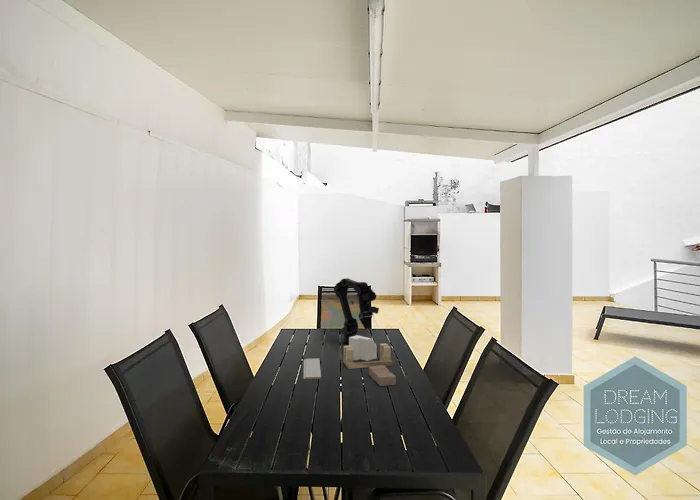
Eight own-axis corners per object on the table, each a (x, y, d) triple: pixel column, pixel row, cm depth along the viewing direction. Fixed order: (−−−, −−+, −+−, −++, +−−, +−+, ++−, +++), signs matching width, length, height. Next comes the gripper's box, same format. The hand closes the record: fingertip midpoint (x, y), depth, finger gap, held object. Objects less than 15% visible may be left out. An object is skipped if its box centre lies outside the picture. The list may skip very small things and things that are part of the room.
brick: (396, 385, 199) (396, 375, 199) (379, 387, 197) (379, 376, 196) (384, 374, 215) (384, 364, 215) (368, 375, 213) (368, 366, 212)
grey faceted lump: (348, 358, 240) (349, 337, 239) (362, 354, 248) (362, 333, 247) (363, 362, 232) (363, 340, 232) (376, 358, 241) (376, 336, 240)
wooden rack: (343, 362, 233) (343, 345, 232) (385, 359, 238) (386, 343, 238) (348, 368, 221) (348, 351, 221) (392, 365, 227) (392, 349, 226)
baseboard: (300, 380, 206) (321, 379, 207) (300, 374, 206) (321, 374, 207) (301, 361, 236) (319, 360, 237) (301, 356, 236) (319, 355, 237)
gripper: (379, 299, 250) (383, 326, 247) (374, 302, 268) (377, 327, 265) (360, 302, 248) (364, 329, 245) (356, 304, 266) (360, 330, 263)
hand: (367, 329), depth 255 cm, fingers open, 9 cm apart
